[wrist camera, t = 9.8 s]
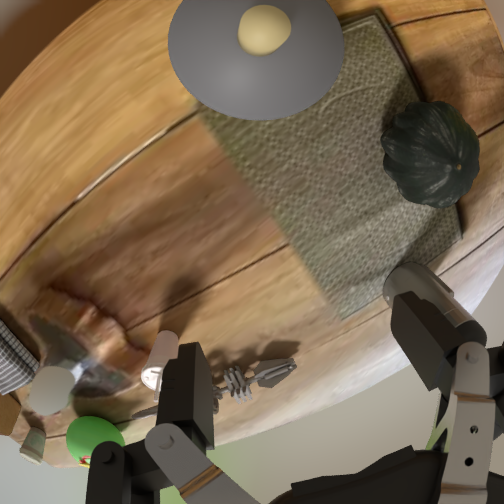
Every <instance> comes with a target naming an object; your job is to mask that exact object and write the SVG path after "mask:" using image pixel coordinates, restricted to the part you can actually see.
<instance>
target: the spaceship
mask: <svg viewBox="0 0 504 504" xmlns="http://www.w3.org/2000/svg"><path fill="white" fill-rule="evenodd" d="M293 361H294V359H293V358H288V359H284V358H282V359H274V360H266V361H261V362H260V363H259V364H258V365H257V367H256V368H255V369H254V370H253V371H254V374H255V376H252V377H250V378H247V377H246V378H245V375H244V374H243V373H242V372H241V370H240V368H239V367H238V366H235V368H236V370H237V371H235V372H234V370H233V368H230V371H231V373H230V374H229V373H228V371H227V370H224V373H225V375H224V379H225V381H226V383H227V386H226V387H224V388H221V389H220V388H219V387H217V386H216V385H213V387H212V390H213V414H217V413H218V411H219V403H218V399H220V400H221V399H222V398H223V397H222V393H225V392H229V393H231V397H234V398H235V400H236V401H237V403H238V404H240V403H241V401H240V400H239V398H242V400H243V401H244V402H246V401H247V400H246V398H245V396H246V395H247V397H248V398H249V400H251V399H252V397H251V395H250V394H252V393H251V390H250V388H249V386H250V384H251V383H254V382H258V385H259V386H260V387H267V388H272V387H274V386H275V385H276V384H278V383H279V382H280V381H282V380H283V379H284V378H285V377H287V376H288V375H289V374H290V372H292V371H293V370H294V369H295V368H297V365H296V364H295V361H294V362H293ZM217 398H218V399H217ZM157 411H158V405H156V406H153V407H151V408H148V409H145V410H142V411H139V412H137V413H135V414H133V415H132V418H133V419H141V418H147V417H150V416H155V415H157Z"/></svg>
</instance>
